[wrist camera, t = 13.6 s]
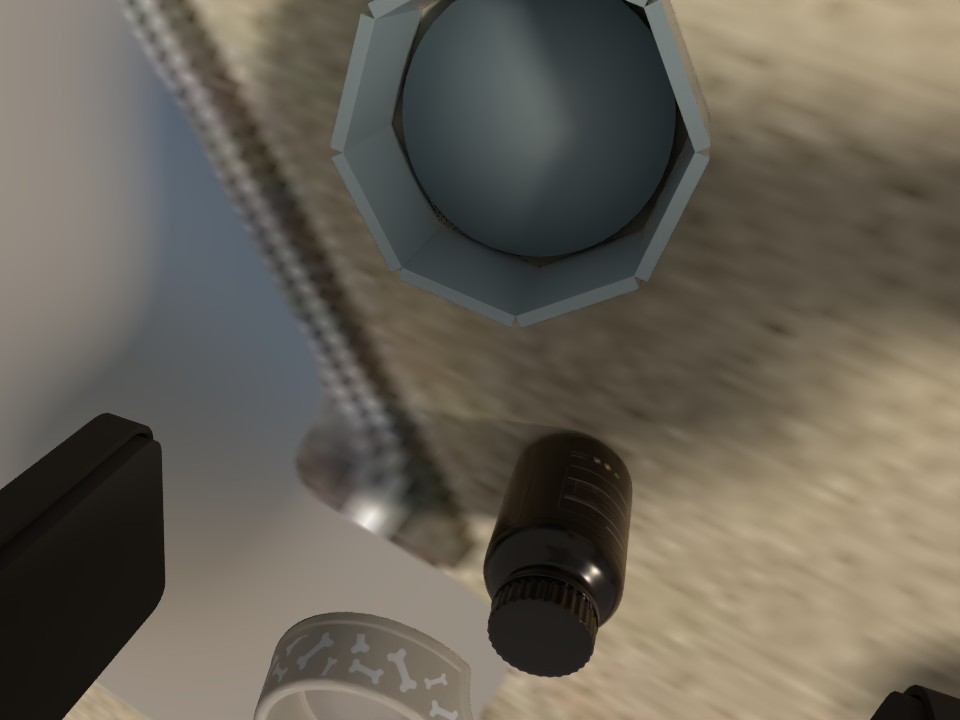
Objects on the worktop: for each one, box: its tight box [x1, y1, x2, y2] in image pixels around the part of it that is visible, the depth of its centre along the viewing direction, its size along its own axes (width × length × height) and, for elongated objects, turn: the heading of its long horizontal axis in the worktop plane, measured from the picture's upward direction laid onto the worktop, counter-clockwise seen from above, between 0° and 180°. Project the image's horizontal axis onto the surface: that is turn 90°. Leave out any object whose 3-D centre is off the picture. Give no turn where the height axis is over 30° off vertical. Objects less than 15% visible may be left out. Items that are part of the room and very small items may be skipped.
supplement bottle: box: [483, 434, 632, 677], centre depth 39 cm, size 7×7×12 cm
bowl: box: [330, 0, 711, 328], centre depth 33 cm, size 14×14×6 cm
